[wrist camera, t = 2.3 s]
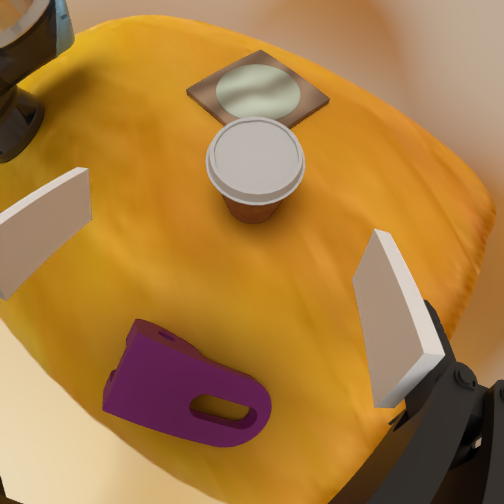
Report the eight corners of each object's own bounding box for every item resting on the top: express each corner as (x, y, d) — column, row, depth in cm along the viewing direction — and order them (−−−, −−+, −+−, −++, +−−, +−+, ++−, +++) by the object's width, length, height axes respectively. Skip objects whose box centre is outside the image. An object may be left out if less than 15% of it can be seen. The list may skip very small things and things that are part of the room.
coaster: (187, 94, 41) (185, 88, 40) (260, 54, 44) (260, 48, 42) (254, 153, 39) (255, 148, 37) (328, 103, 41) (330, 97, 40)
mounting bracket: (253, 367, 39) (134, 312, 32) (284, 391, 31) (137, 331, 24) (224, 421, 37) (104, 376, 30) (248, 453, 29) (102, 410, 23)
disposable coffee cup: (237, 249, 36) (235, 218, 24) (202, 187, 38) (187, 137, 26) (302, 214, 37) (327, 172, 25) (265, 157, 39) (273, 101, 27)
